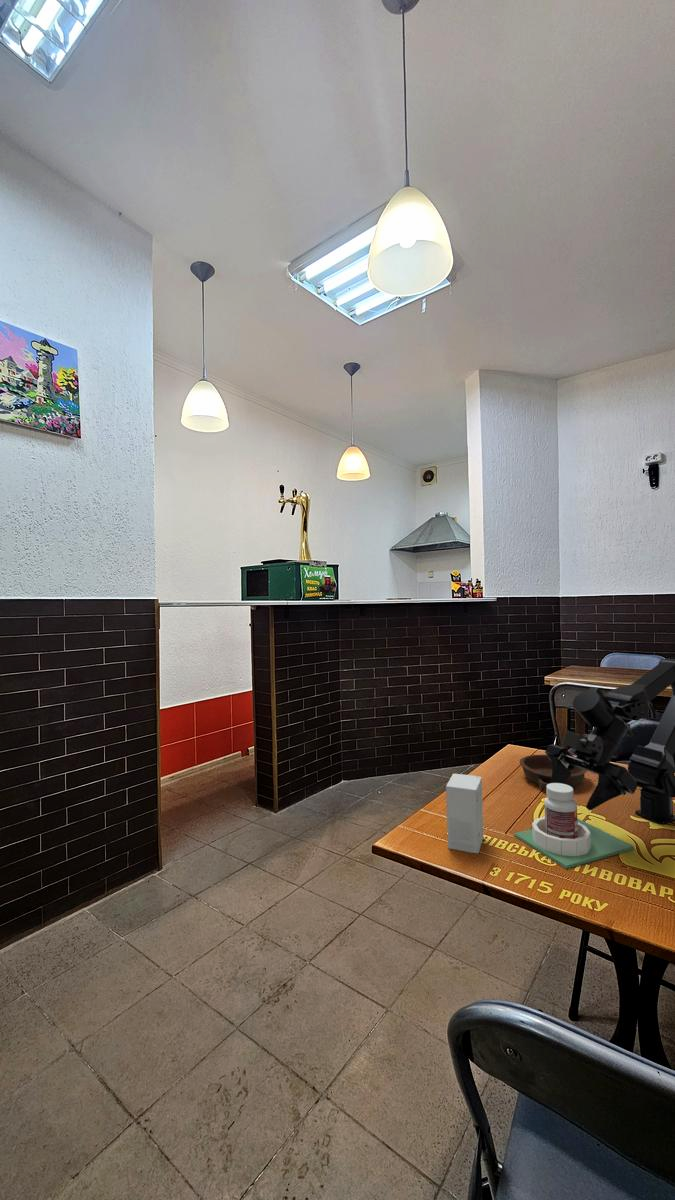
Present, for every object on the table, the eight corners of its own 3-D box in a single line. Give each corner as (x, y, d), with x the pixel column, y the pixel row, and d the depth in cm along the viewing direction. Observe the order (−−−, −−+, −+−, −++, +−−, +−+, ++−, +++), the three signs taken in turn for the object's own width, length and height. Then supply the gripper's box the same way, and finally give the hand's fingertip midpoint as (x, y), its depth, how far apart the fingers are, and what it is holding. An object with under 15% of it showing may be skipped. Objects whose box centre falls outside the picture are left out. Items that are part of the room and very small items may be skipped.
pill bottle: (583, 850, 97) (581, 793, 97) (551, 849, 97) (549, 793, 97) (571, 835, 103) (569, 781, 103) (541, 834, 103) (539, 781, 103)
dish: (511, 788, 131) (510, 770, 131) (528, 764, 149) (528, 748, 149) (582, 801, 121) (582, 781, 121) (592, 774, 140) (591, 757, 140)
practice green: (577, 820, 111) (576, 804, 111) (633, 849, 98) (633, 831, 98) (514, 836, 104) (513, 819, 104) (566, 868, 91) (565, 849, 91)
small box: (454, 831, 107) (452, 772, 107) (484, 836, 104) (482, 776, 104) (446, 848, 100) (445, 785, 100) (478, 854, 97) (476, 789, 97)
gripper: (549, 708, 111) (514, 764, 107) (625, 727, 94) (586, 794, 90) (575, 738, 115) (542, 793, 110) (653, 761, 97) (617, 827, 93)
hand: (568, 800), depth 101 cm, fingers open, 9 cm apart
